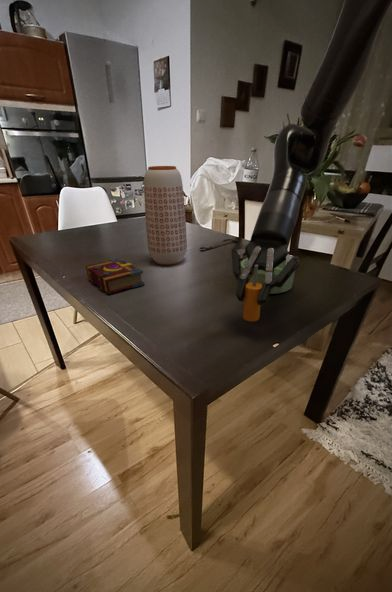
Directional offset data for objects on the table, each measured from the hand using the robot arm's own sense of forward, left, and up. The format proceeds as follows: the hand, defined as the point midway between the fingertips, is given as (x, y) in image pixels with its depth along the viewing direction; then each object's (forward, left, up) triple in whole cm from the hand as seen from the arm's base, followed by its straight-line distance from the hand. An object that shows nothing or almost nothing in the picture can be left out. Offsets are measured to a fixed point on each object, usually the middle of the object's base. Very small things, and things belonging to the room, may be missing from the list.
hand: (249, 301), depth 55 cm
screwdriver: (-1, -2, -4) cm, 5 cm away
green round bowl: (-7, -29, -8) cm, 31 cm away
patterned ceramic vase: (+25, -47, -8) cm, 54 cm away
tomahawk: (+9, -68, -8) cm, 69 cm away
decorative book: (+38, -27, -8) cm, 47 cm away
